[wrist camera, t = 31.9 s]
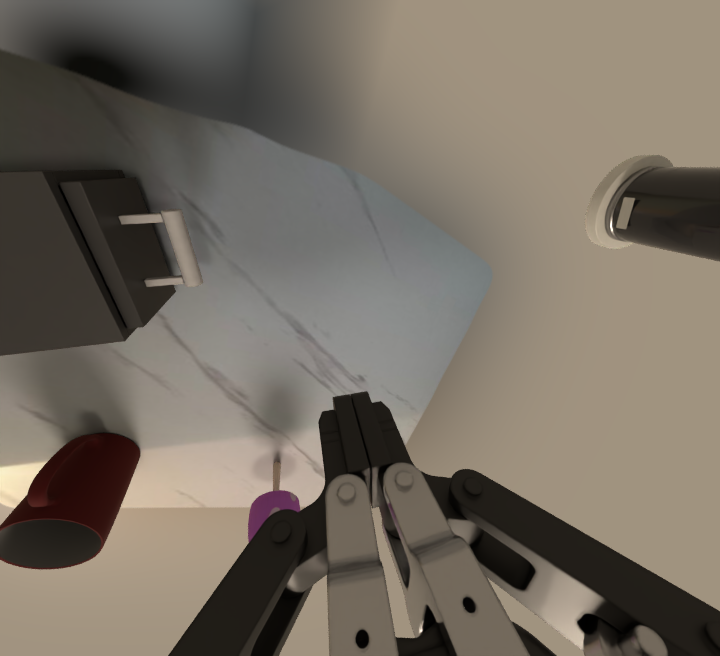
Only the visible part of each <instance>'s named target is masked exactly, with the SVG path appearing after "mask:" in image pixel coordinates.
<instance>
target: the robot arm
mask: <svg viewBox="0 0 720 656" xmlns="http://www.w3.org/2000/svg"><path fill="white" fill-rule="evenodd" d="M605 229H606V232H607V234H608V235H609V236H610V237H611V238H612V239H615V240H619V241H624V242H632V243H637V244H641V245H645V246H650V247H655V248H660V249H664V250H669V251H674V252H678V253H683V254H687V255H692V256H697V257H701V258H706V259H711V260H715V261H720V167H716V168H715V167H714V168H713V167H710V168H709V167H702V168H701V167H697V168H696V167H690V168H689V167H661V166H651V167H645V168H643V169H640V170H638V171H636V172H635V173H633V174H632V175H631V176H629V177H628V178H627V179H626V180H625V181H624V182H623V183H622V184H621V185H620V186H619V188H618V189H617V190H616V192H615V193H614V195H613V197H612V198H611V200H610V202H609V205H608V207H607V210H606V214H605ZM333 407H334V410H329V411H323V412H322V414H321V417H320V419H319V431H320V439H321V447H322V455H323V464H324V472H325V486H324V489H323V491H322V493H321V495H320V496H319V498H318V499H317V500H316V501H315V502H314V503H312V504H311V505H309V506H307V507H306V508H304V509H303V510H301V511H299V512H297V511H294V510H291V509H283V510H279V511H277V512H275V513H273V514H272V515H270V516H269V517H268V518H267V519H266V520H265V521H264V522H263V524H262V525H261V527H260V528H259V529H258V531H257V532H256V534H255V535H254V536H253V538H252V539H251V541H250V542H249V543H248V545H247V546H246V548H245V549H244V551H243V552H242V553H241V555H240V556H239V557H238V559H237V560H236V562H235V563H234V564H233V566H232V567H231V569H230V570H229V571H228V573H227V574H226V576H225V577H224V578H223V580H222V581H221V583H220V584H219V585H218V587H217V588H216V590H215V591H214V592H213V594H212V595H211V597H210V598H209V599H208V601H207V602H206V604H205V605H204V606H203V608H202V609H201V611H200V612H199V613H198V615H197V616H196V618H195V619H194V621H193V622H192V623H191V625H190V626H189V627H188V629H187V630H186V632H185V633H184V634H183V636H182V637H181V639H180V640H179V641H178V643H177V644H176V646H175V647H174V648H173V650H172V651H171V653H170V654H169V655H168V656H279V654H280V652H281V650H282V647H283V646H284V644H285V642H286V640H287V638H288V636H289V634H290V632H291V630H292V627H293V625H294V623H295V621H296V619H297V617H298V615H299V613H300V611H301V609H302V607H303V605H304V603H305V601H306V599H307V597H308V595H309V593H310V591H311V589H312V586H313V584H315V583H316V582H317V581H319V580H320V579H321V578H323V577H324V576H325V575H327V593H328V594H327V595H328V625H329V654H330V656H556V655H555V654H554V653H553V652H552V651H551V650H549V649H548V648H547V647H546V646H545V645H543V644H542V643H541V642H540V641H539V640H538V639H537V638H535V637H534V636H533V635H532V634H530V633H529V632H528V631H526V630H525V629H523V628H522V627H520V626H519V625H517V624H515V623H514V622H512V621H511V620H510V619H509V617H508V615H507V613H506V611H505V609H504V608H503V606H502V604H501V602H500V600H499V599H498V597H497V595H496V593H495V592H494V590H493V588H492V586H491V584H490V582H489V581H488V579H487V578H489V579H490V580H491V581H493V582H494V583H495V584H497V585H498V586H499V587H500V588H502V589H503V590H504V591H506V592H507V593H508V594H510V595H511V596H512V597H514V598H515V599H516V600H517V601H519V602H520V603H521V604H523V605H524V606H525V607H527V608H528V609H529V610H530V611H532V612H533V613H535V614H536V615H537V616H538V617H540V618H541V619H542V620H543V621H545V622H546V623H547V624H549V625H550V626H551V627H553V628H554V629H555V630H556V631H558V632H559V633H561V634H562V635H563V636H564V637H566V638H567V639H568V640H569V641H571V642H572V643H573V644H575V645H576V646H577V647H579V648H580V649H581V650H583V651H584V655H585V656H720V611H718V610H717V609H715V608H713V607H711V606H709V605H708V604H706V603H705V602H703V601H701V600H699V599H698V598H696V597H694V596H692V595H690V594H689V593H687V592H686V591H684V590H682V589H680V588H678V587H677V586H675V585H673V584H672V583H670V582H668V581H666V580H665V579H663V578H661V577H659V576H658V575H656V574H654V573H652V572H651V571H649V570H647V569H646V568H644V567H642V566H640V565H639V564H637V563H635V562H633V561H632V560H630V559H628V558H626V557H625V556H623V555H621V554H619V553H618V552H616V551H614V550H613V549H611V548H609V547H607V546H606V545H604V544H602V543H600V542H599V541H597V540H595V539H594V538H592V537H590V536H588V535H586V534H585V533H583V532H581V531H580V530H578V529H576V528H574V527H573V526H571V525H569V524H567V523H566V522H564V521H562V520H561V519H559V518H557V517H555V516H554V515H552V514H550V513H548V512H547V511H545V510H543V509H541V508H540V507H538V506H536V505H534V504H533V503H531V502H529V501H528V500H526V499H524V498H522V497H520V496H519V495H517V494H515V493H514V492H512V491H510V490H508V489H507V488H505V487H503V486H501V485H500V484H498V483H496V482H494V481H493V480H491V479H489V478H488V477H486V476H484V475H482V474H481V473H479V472H476V471H474V470H470V469H463V470H459V471H457V472H456V473H455V474H454V475H453V476H452V478H446V477H437V476H431V475H428V474H425V473H423V472H421V471H420V470H418V469H417V468H416V467H415V466H414V464H413V463H412V461H411V459H410V457H409V455H408V452H407V450H406V447H405V445H404V443H403V440H402V438H401V436H400V433H399V431H398V429H397V426H396V424H395V421H394V419H393V417H392V414H391V412H390V410H389V408H388V407H387V406H385V405H384V404H383V403H382V402H381V401H380V402H374V403H372V402H371V400H370V397H369V394H368V392H367V391H366V392H360V393H354V394H348V395H342V396H336V397H333ZM370 502H371V503H370ZM370 504H371V505H370ZM371 506H372V508H375V507H379V508H380V512H381V516H382V528H383V532H384V535H385V538H386V541H387V544H388V547H389V550H390V553H391V556H392V559H393V562H394V565H395V568H396V571H397V574H398V577H399V580H400V583H401V586H402V589H403V592H404V596H405V601H406V607H407V612H408V616H409V620H410V623H411V626H412V629H413V632H414V635H415V638H397V637H395V632H394V626H393V621H392V615H391V609H390V603H389V597H388V592H387V586H386V580H385V575H384V570H383V566H382V563H381V561H380V558H379V552H378V547H377V541H376V535H375V529H374V523H373V517H372V511H371ZM464 607H465V608H464Z"/></svg>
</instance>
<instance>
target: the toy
mask: <svg viewBox="0 0 720 656" xmlns="http://www.w3.org/2000/svg"><path fill="white" fill-rule="evenodd" d="M280 469H281V463H279V462H276V463H274V465H273V491H271V492H268V493H265V494H263V495H261V496H259V497H258V498H257V499H256V500H255V501H254V502H253V503H252V506H251V509H250V514H249V523H248V539H249V542H250V541H251V539H252V538H253V536H254V535H255V534H256V532H257V531H258V529H259V528H260V527H261V525H262V524H263V522H264V521H265V520H266V519H267V518H268V517H269V516H270V515H272V514H273V513H275V512H277V511H279V510H283V509H291V510H294V511H297V512H299V511H300V505H299V500H298V498H297V496H296V495H294V494H293V493H291V492H288V491H281V490H279V484H280Z"/></svg>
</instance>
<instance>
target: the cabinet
mask: <svg viewBox="0 0 720 656" xmlns="http://www.w3.org/2000/svg"><path fill="white" fill-rule="evenodd" d="M114 178H125V177H124V174H123V171H122V170H80V171H18V172H0V356H2V355H10V354H19V353H27V352H36V351H45V350H53V349H62V348H70V347H79V346H87V345H96V344H104V343H113V342H122V341H125V340H126V339H127V338H128V337H129V336H130V335H131V334H132V333H133V332H134V331H135V329H136V328H129V329H128V328H127V326H126V324H125V322H124V320H123V318H122V316H121V314H120V311H117V309H116V307H115V305H114V303H113V301H112V299H111V296H110V294H109V292H108V290H107V288H106V286H105V284H104V282H103V280H102V278H101V275H100V273H99V271H98V269H97V267H96V265H95V263H94V261H93V259H92V257H91V254H90V252H89V250H88V248H87V246H86V244H85V242H84V240H83V238H82V236H81V233H80V231H79V229H78V227H77V225H76V223H75V221H74V219H73V217H72V215H71V212H70V210H69V208H68V206H67V204H66V202H65V200H64V198H63V196H62V194H61V191H60V190H62V189H61V187H60V184H59V182H65V181H81V180H98V179H114Z"/></svg>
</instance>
